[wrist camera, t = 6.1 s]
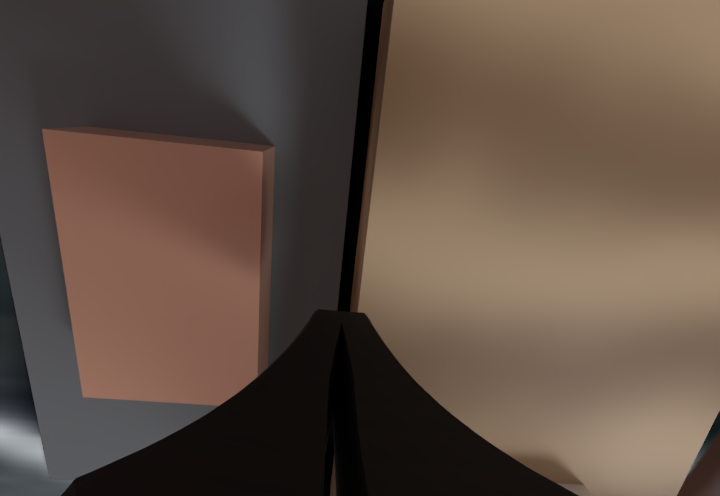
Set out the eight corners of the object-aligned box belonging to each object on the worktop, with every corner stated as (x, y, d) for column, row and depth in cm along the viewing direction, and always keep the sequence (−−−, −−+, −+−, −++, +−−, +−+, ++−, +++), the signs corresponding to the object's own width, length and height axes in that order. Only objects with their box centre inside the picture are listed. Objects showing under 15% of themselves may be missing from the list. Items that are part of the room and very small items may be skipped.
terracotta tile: (82, 397, 14) (114, 362, 15) (256, 407, 14) (267, 372, 16) (42, 128, 11) (87, 126, 13) (263, 151, 11) (275, 145, 13)
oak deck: (573, 498, 19) (628, 592, 15) (330, 485, 18) (326, 581, 15) (745, 51, 13) (911, 26, 9) (383, 4, 12) (399, -46, 8)
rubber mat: (320, 485, 18) (319, 492, 18) (56, 471, 18) (49, 479, 17) (367, 2, 12) (367, -2, 12) (-46, -52, 11) (-59, -57, 11)
